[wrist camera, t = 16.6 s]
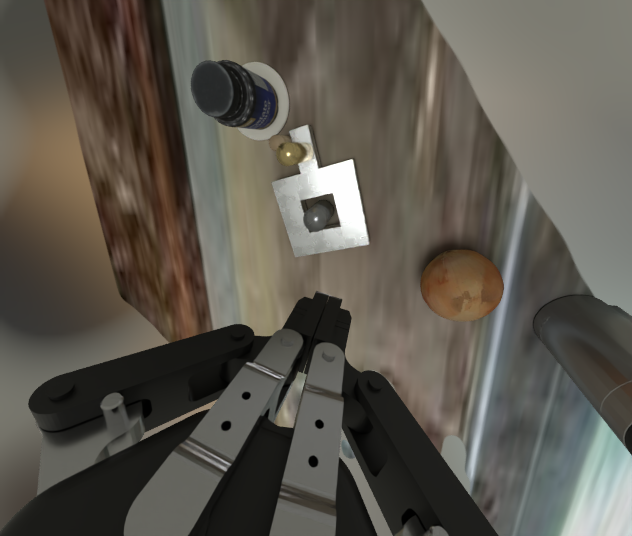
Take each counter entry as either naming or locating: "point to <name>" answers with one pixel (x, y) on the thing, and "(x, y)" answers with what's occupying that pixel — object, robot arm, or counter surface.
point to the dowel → (278, 141)
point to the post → (318, 215)
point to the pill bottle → (234, 95)
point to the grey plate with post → (318, 183)
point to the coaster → (283, 102)
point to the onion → (461, 285)
